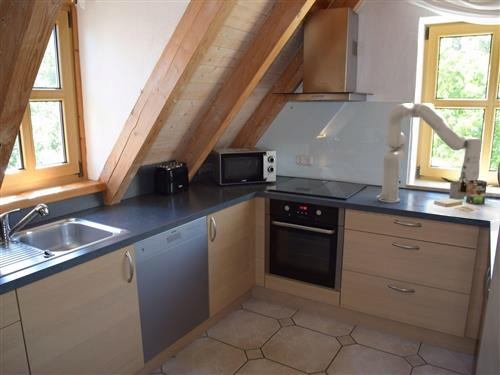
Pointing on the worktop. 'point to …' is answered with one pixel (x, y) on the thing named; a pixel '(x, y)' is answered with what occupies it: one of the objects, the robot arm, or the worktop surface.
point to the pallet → (467, 208)
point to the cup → (455, 191)
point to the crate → (468, 188)
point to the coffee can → (478, 193)
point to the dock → (448, 202)
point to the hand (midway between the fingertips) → (466, 191)
